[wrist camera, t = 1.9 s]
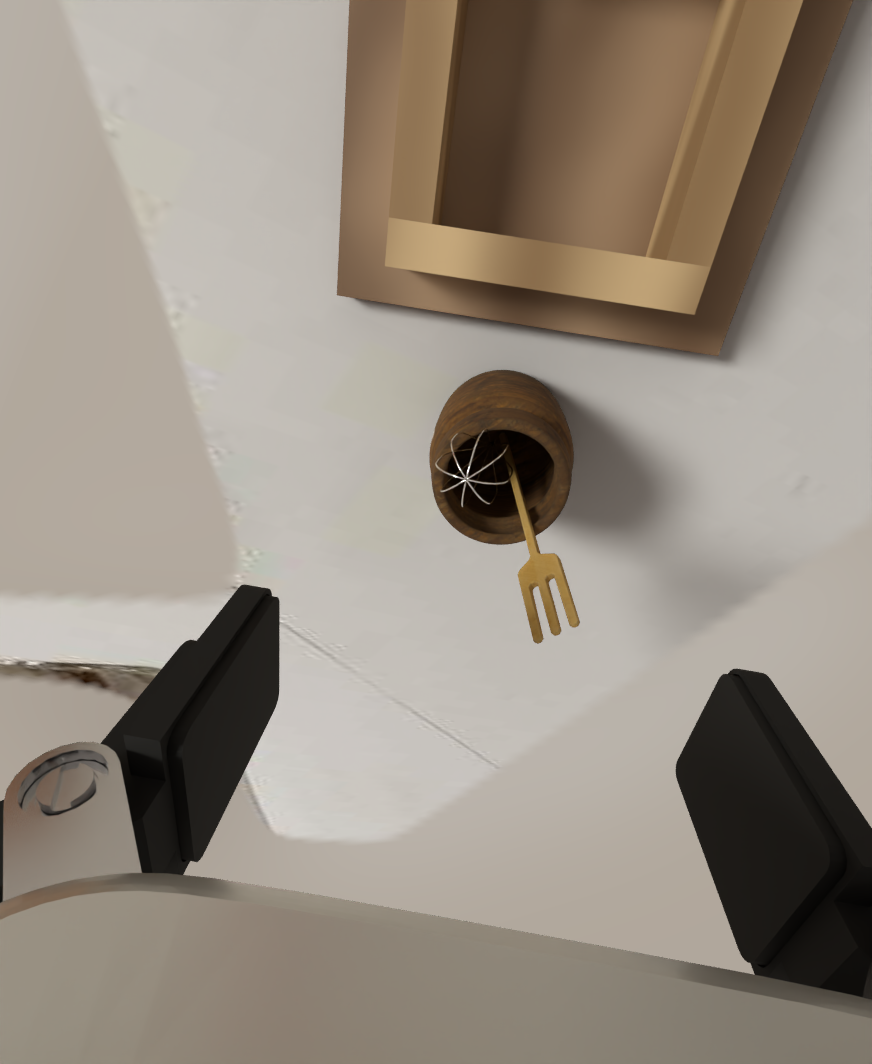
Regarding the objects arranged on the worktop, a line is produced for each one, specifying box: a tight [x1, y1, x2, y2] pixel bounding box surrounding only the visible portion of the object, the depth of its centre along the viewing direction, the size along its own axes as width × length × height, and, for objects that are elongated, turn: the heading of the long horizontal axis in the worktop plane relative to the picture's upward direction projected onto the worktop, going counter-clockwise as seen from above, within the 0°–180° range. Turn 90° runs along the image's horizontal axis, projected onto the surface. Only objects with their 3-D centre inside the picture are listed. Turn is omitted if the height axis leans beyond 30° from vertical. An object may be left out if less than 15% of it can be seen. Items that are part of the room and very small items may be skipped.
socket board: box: [337, 0, 853, 356], centre depth 18 cm, size 16×14×4 cm
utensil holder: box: [430, 370, 580, 644], centre depth 20 cm, size 6×6×12 cm
